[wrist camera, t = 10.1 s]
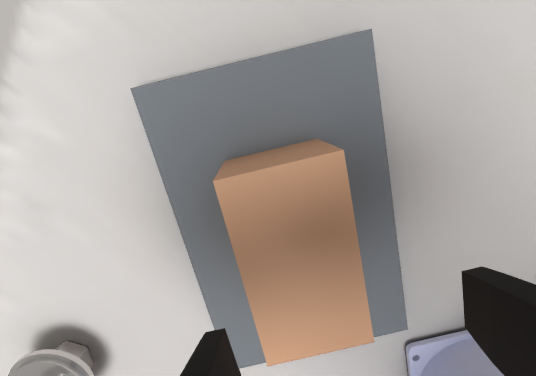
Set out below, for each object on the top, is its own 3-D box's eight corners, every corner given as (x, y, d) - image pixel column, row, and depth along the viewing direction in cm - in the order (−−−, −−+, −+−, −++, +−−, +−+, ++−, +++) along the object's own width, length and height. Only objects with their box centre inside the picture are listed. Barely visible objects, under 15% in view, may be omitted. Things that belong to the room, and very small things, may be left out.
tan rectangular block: (317, 138, 15) (343, 149, 10) (343, 283, 17) (374, 341, 13) (224, 160, 15) (212, 181, 10) (263, 302, 17) (267, 366, 13)
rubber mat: (400, 318, 19) (407, 329, 18) (230, 358, 19) (229, 371, 18) (363, 34, 14) (371, 28, 13) (138, 90, 15) (130, 88, 14)
